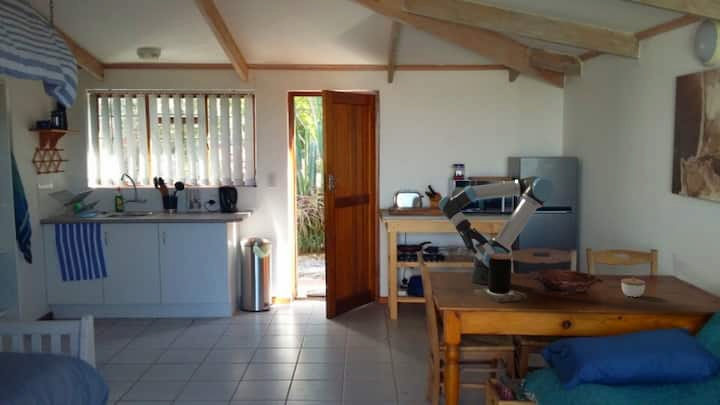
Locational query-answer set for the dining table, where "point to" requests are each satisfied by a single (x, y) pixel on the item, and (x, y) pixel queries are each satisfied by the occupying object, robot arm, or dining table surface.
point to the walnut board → (500, 295)
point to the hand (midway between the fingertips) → (487, 256)
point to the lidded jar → (633, 287)
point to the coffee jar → (499, 273)
